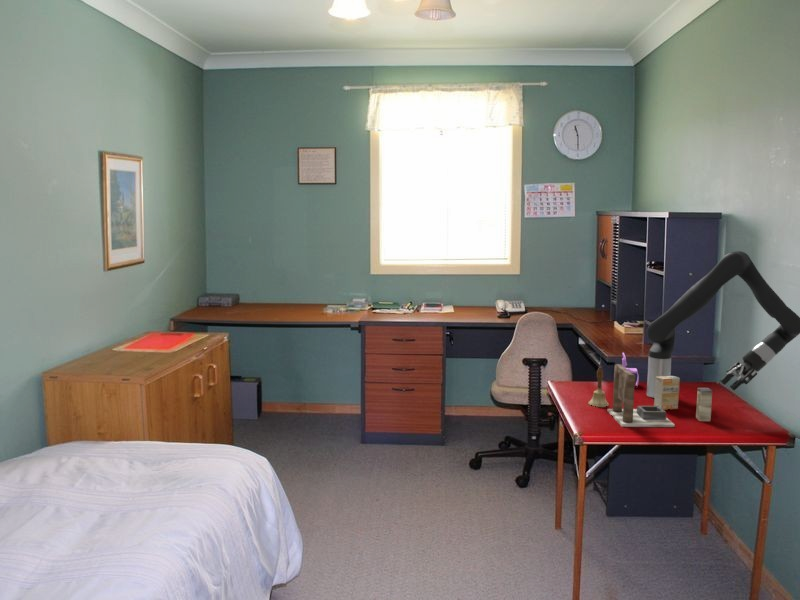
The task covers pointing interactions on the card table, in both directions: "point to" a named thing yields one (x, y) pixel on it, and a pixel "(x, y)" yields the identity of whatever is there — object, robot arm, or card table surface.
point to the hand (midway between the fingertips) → (726, 385)
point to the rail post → (704, 404)
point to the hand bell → (599, 392)
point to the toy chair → (632, 370)
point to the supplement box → (667, 392)
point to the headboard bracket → (628, 415)
